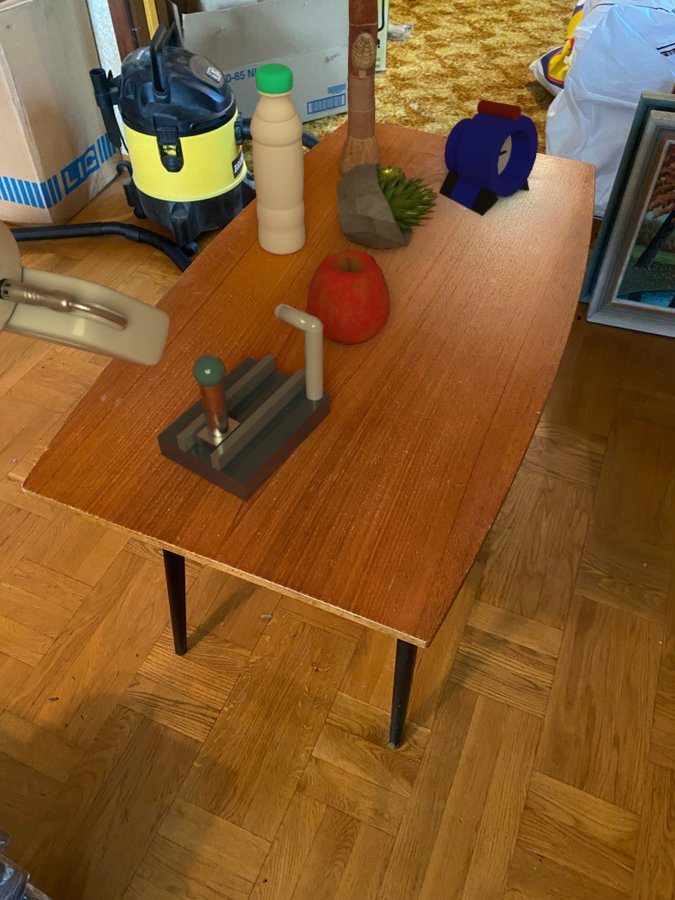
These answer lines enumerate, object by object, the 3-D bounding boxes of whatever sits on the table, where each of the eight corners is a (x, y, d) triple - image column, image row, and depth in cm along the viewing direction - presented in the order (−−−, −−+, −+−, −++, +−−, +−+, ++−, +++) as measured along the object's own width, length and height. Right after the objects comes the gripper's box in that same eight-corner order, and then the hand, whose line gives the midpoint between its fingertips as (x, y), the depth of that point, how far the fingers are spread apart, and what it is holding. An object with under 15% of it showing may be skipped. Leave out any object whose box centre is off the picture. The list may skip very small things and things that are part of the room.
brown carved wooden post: (346, 157, 127) (351, -42, 104) (386, 163, 126) (399, -37, 103) (329, 185, 120) (330, -21, 98) (371, 192, 119) (382, -15, 96)
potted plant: (346, 187, 113) (440, 169, 109) (353, 267, 112) (448, 251, 108) (324, 156, 101) (429, 134, 97) (331, 245, 101) (437, 226, 97)
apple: (327, 294, 100) (327, 225, 92) (400, 313, 97) (406, 244, 89) (294, 339, 93) (291, 269, 85) (372, 361, 90) (376, 291, 82)
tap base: (161, 454, 79) (136, 360, 69) (249, 374, 88) (239, 280, 78) (246, 502, 75) (233, 409, 65) (330, 413, 84) (330, 318, 74)
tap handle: (196, 444, 76) (180, 363, 68) (220, 422, 79) (207, 341, 70) (219, 456, 75) (206, 376, 67) (243, 433, 78) (233, 352, 69)
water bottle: (308, 232, 110) (305, 59, 92) (302, 258, 106) (297, 81, 87) (263, 229, 111) (250, 56, 92) (255, 255, 106) (240, 78, 87)
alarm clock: (485, 217, 114) (503, 123, 103) (429, 188, 120) (440, 95, 109) (533, 192, 119) (554, 100, 108) (477, 165, 125) (492, 75, 114)
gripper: (103, 247, 37) (221, 316, 50) (-174, 195, 43) (-4, 269, 56) (72, 364, 37) (199, 403, 50) (-200, 296, 43) (-24, 346, 56)
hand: (90, 331), depth 53 cm, fingers open, 8 cm apart
